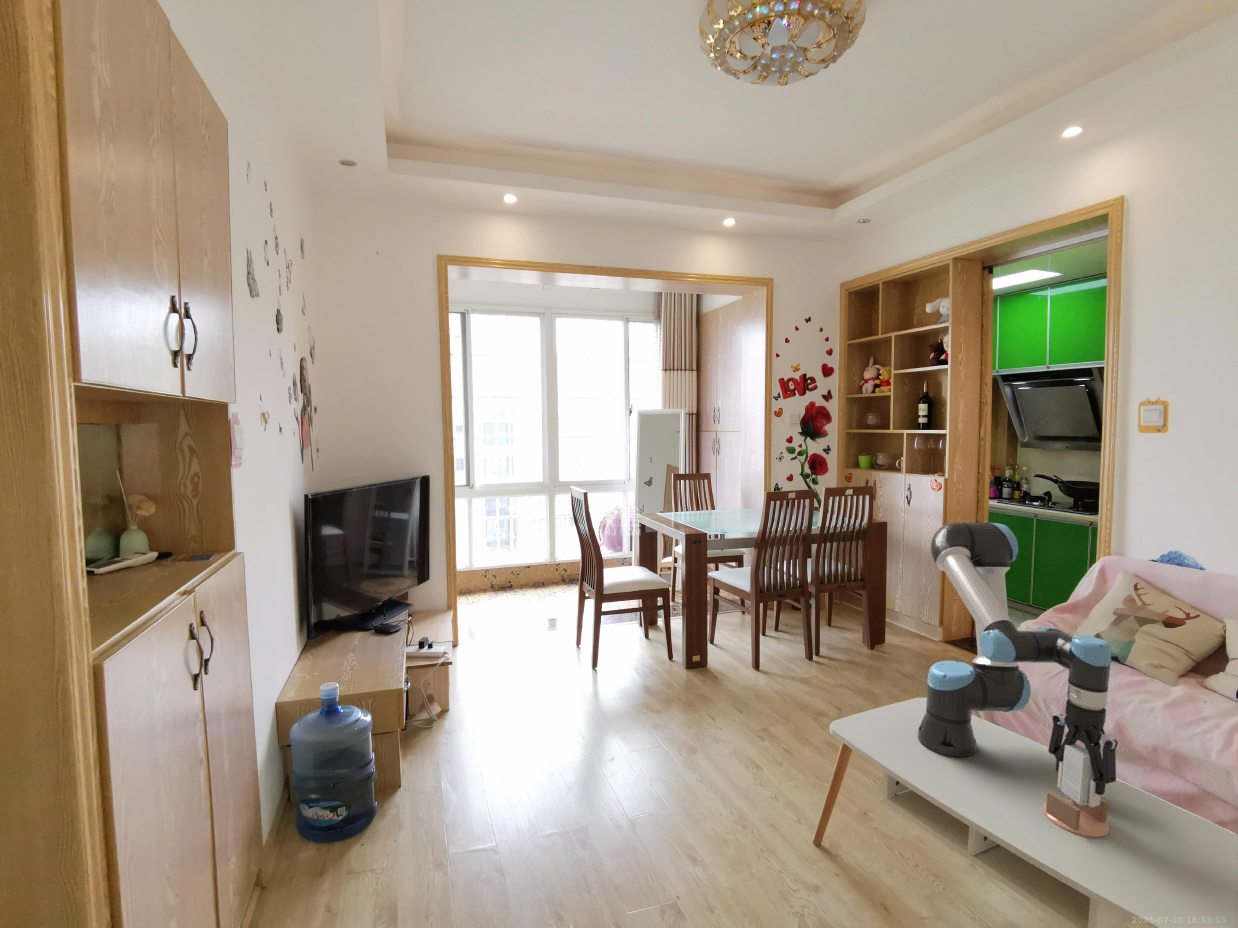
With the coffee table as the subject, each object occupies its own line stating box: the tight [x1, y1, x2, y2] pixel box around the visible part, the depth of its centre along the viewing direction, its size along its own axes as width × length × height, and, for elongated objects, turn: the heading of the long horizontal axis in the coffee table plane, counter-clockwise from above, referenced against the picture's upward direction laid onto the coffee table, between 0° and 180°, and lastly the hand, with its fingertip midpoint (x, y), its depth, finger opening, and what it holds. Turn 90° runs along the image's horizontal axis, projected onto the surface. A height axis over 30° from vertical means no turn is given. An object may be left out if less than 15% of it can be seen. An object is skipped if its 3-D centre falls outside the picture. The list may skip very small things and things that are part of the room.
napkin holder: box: [1042, 791, 1111, 839], centre depth 151 cm, size 13×13×6 cm
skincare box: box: [1060, 743, 1095, 805], centre depth 150 cm, size 6×4×12 cm
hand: (1078, 795), depth 151 cm, fingers closed on skincare box, 7 cm apart
